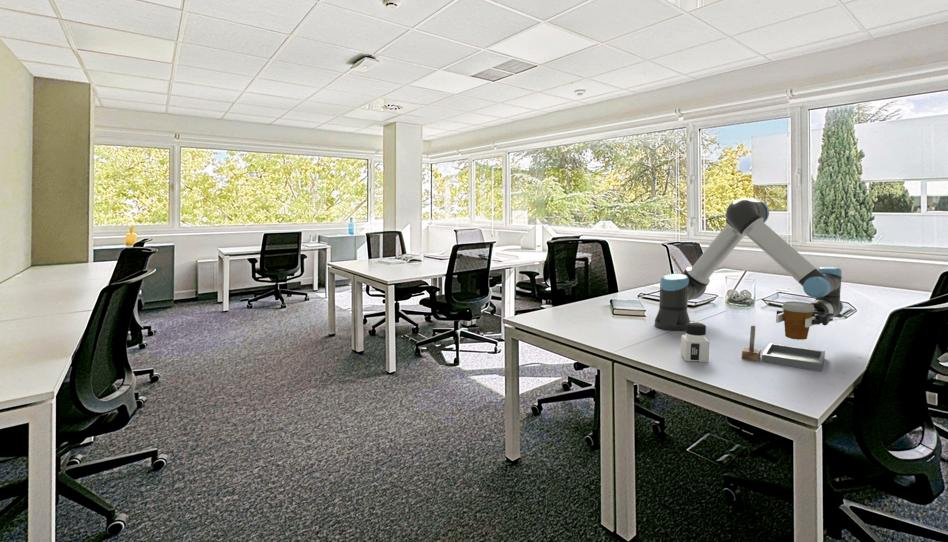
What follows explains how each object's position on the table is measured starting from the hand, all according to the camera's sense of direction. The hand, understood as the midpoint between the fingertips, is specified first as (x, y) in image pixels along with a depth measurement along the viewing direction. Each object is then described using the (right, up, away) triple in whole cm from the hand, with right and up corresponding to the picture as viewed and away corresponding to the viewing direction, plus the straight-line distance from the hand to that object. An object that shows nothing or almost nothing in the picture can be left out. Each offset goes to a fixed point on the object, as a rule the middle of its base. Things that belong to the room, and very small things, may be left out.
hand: (791, 321), depth 162 cm
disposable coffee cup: (+4, -6, +4) cm, 8 cm away
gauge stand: (-10, -14, +7) cm, 19 cm away
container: (-30, -15, +8) cm, 34 cm away
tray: (+4, -14, +5) cm, 16 cm away
